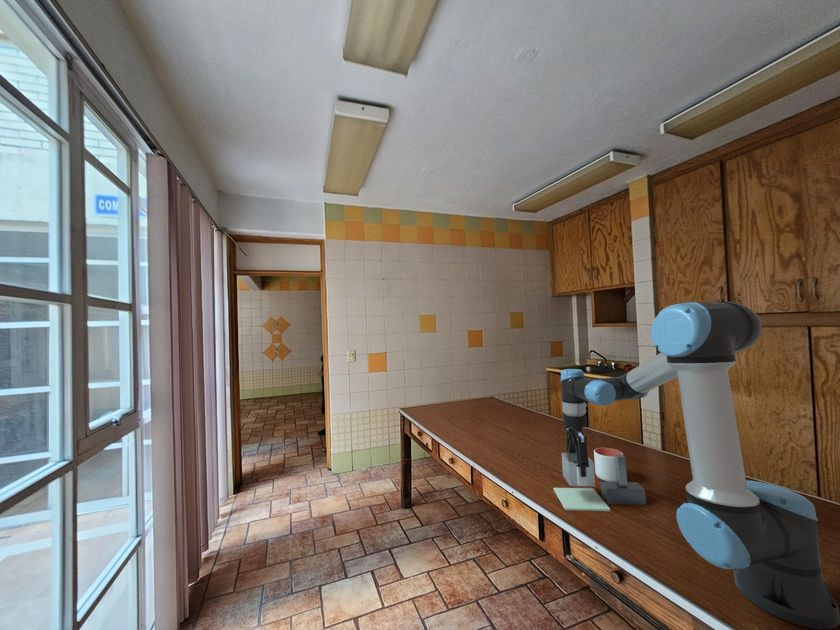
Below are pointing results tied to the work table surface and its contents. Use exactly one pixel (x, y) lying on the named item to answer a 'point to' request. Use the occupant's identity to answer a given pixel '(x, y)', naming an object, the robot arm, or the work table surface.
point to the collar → (571, 470)
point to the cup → (605, 463)
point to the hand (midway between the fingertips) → (578, 479)
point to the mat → (580, 499)
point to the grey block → (622, 487)
